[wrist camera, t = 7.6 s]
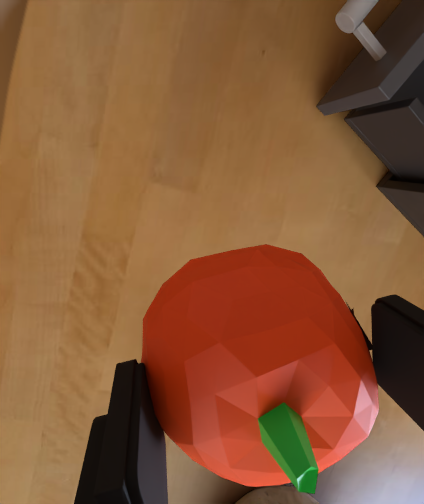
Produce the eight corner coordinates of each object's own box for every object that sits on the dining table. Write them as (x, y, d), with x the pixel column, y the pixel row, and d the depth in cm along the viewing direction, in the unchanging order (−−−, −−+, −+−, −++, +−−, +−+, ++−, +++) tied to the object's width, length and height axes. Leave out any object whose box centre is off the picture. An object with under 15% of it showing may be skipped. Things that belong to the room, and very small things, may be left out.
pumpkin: (242, 185, 12) (335, 221, 5) (357, 328, 14) (509, 463, 8) (94, 315, 12) (27, 482, 6) (230, 431, 15) (280, 631, 8)
